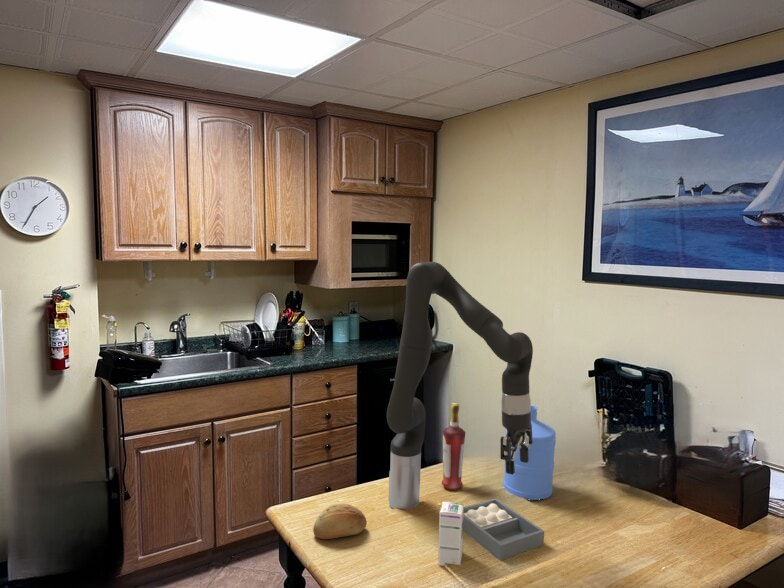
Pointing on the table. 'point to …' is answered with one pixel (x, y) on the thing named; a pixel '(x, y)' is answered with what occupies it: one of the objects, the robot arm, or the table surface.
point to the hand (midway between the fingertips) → (517, 467)
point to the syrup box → (450, 533)
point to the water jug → (534, 464)
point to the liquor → (453, 451)
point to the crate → (504, 532)
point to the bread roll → (339, 522)
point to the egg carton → (487, 515)
